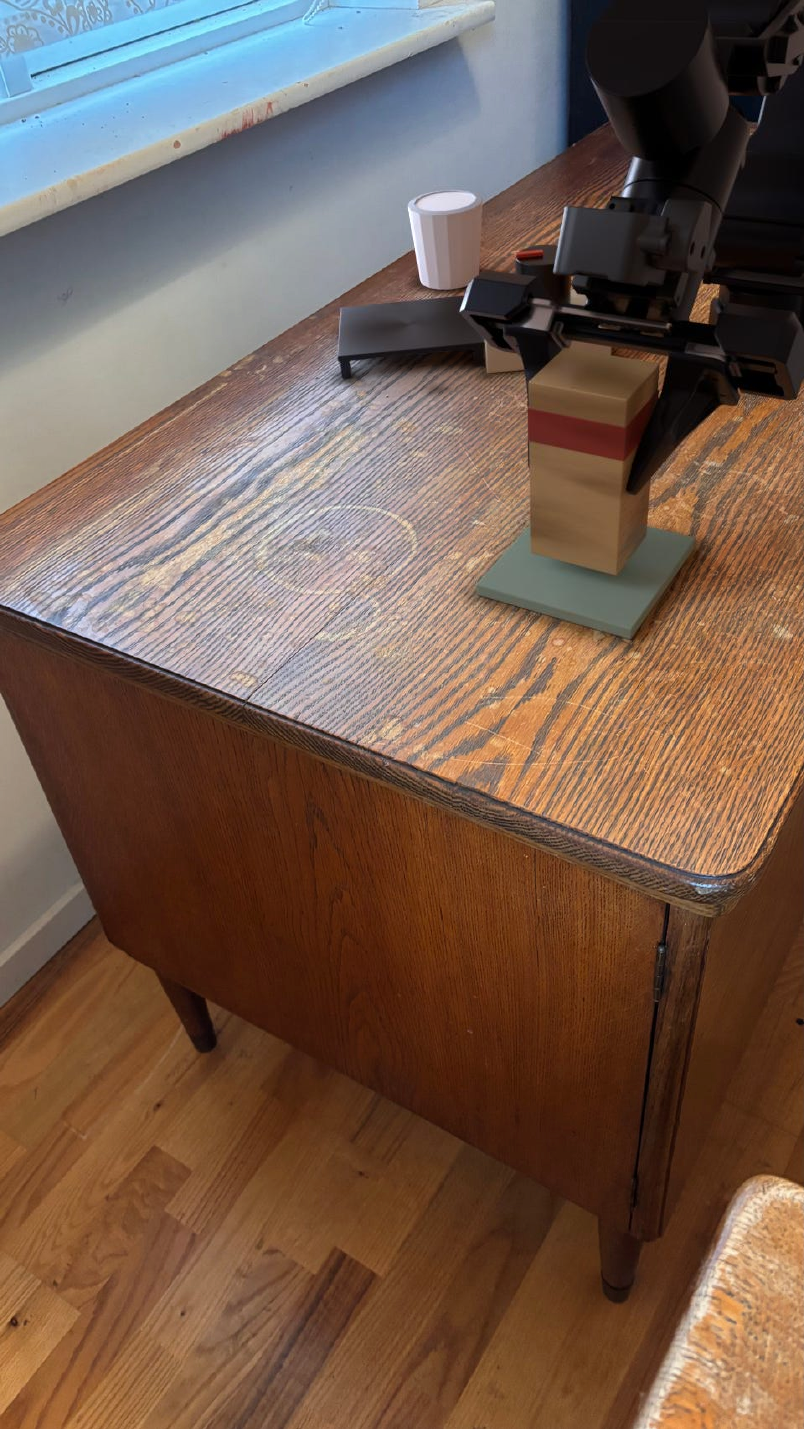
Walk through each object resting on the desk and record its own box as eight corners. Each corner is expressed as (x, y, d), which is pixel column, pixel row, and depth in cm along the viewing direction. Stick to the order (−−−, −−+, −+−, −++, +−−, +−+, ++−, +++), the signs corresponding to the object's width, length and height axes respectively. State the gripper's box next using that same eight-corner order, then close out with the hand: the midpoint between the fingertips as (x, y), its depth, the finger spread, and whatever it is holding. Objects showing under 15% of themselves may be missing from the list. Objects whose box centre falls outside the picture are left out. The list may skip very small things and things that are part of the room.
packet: (561, 515, 66) (563, 346, 58) (647, 536, 63) (661, 362, 56) (528, 553, 63) (526, 381, 56) (617, 577, 61) (627, 400, 53)
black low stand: (477, 316, 93) (476, 294, 92) (485, 365, 86) (484, 342, 85) (343, 329, 94) (340, 307, 93) (340, 379, 87) (337, 356, 85)
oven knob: (566, 297, 87) (567, 238, 84) (574, 319, 84) (575, 258, 81) (513, 303, 87) (512, 243, 84) (519, 324, 84) (518, 263, 81)
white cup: (403, 290, 99) (396, 212, 95) (429, 262, 104) (423, 187, 99) (471, 294, 97) (467, 215, 92) (495, 266, 102) (492, 189, 97)
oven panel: (595, 320, 91) (596, 283, 88) (611, 363, 84) (613, 325, 82) (479, 331, 91) (478, 295, 89) (487, 375, 85) (486, 337, 83)
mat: (549, 512, 70) (549, 501, 69) (695, 547, 65) (696, 537, 65) (476, 595, 64) (475, 584, 63) (630, 640, 59) (631, 629, 59)
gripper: (467, 113, 55) (375, 404, 56) (834, 136, 46) (718, 476, 48) (536, 219, 65) (457, 464, 66) (848, 253, 56) (752, 532, 58)
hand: (580, 481), depth 59 cm, fingers closed on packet, 5 cm apart
